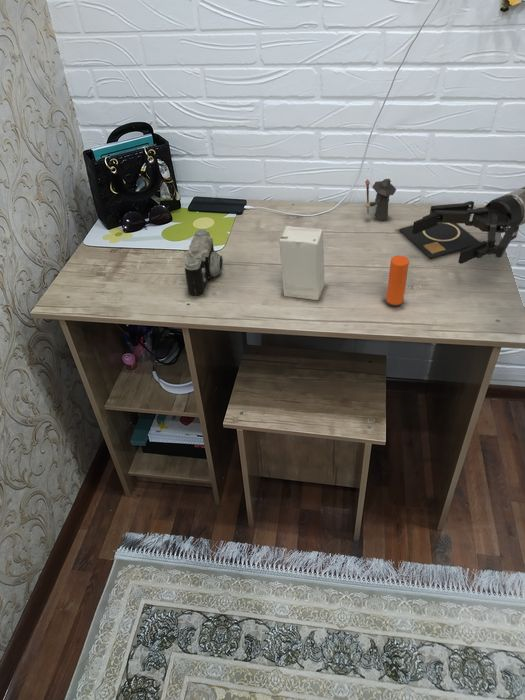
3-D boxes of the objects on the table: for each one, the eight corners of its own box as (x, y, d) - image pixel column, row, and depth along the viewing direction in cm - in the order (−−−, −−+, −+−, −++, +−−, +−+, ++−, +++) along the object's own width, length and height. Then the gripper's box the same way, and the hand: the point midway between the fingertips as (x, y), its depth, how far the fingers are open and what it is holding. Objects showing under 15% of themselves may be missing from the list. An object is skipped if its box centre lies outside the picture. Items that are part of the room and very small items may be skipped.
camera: (216, 297, 127) (211, 260, 120) (186, 297, 128) (180, 259, 121) (227, 260, 137) (222, 223, 131) (199, 259, 138) (194, 223, 131)
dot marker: (406, 306, 121) (412, 262, 114) (391, 310, 120) (396, 267, 113) (397, 296, 124) (403, 253, 116) (382, 300, 123) (387, 257, 115)
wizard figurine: (379, 210, 151) (383, 167, 143) (396, 217, 148) (401, 173, 140) (359, 222, 147) (362, 178, 139) (376, 229, 144) (381, 185, 136)
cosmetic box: (324, 286, 128) (326, 228, 118) (318, 302, 124) (319, 243, 114) (288, 281, 130) (287, 223, 120) (281, 296, 126) (278, 238, 116)
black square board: (480, 245, 137) (481, 242, 136) (430, 259, 133) (430, 256, 133) (446, 218, 146) (447, 215, 146) (399, 230, 143) (399, 228, 143)
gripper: (552, 252, 119) (478, 286, 112) (464, 204, 135) (394, 231, 128) (563, 220, 114) (486, 254, 107) (470, 174, 130) (398, 201, 123)
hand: (436, 242), depth 118 cm, fingers open, 13 cm apart
